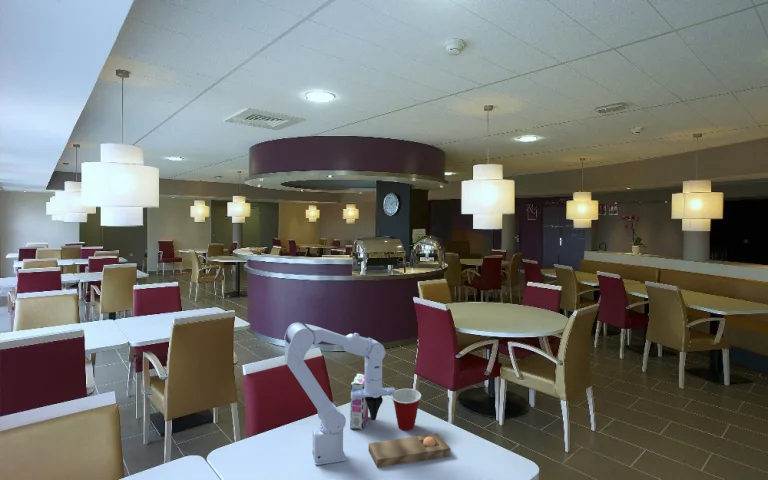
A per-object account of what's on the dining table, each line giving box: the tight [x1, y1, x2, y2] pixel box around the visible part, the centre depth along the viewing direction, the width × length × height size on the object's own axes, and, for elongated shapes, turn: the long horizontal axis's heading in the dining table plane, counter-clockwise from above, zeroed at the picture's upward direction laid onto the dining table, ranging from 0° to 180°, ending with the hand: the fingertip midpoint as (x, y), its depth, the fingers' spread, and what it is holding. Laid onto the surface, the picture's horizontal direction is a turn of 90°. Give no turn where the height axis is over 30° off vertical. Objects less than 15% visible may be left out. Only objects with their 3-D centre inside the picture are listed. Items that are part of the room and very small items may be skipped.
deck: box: [368, 433, 451, 469], centre depth 138 cm, size 24×10×2 cm, turn 107°
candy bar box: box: [349, 373, 369, 431], centre depth 159 cm, size 11×5×16 cm, turn 172°
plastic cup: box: [390, 388, 422, 431], centre depth 155 cm, size 11×11×12 cm
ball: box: [423, 437, 435, 448], centre depth 140 cm, size 4×4×4 cm
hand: (373, 418), depth 141 cm, fingers closed
